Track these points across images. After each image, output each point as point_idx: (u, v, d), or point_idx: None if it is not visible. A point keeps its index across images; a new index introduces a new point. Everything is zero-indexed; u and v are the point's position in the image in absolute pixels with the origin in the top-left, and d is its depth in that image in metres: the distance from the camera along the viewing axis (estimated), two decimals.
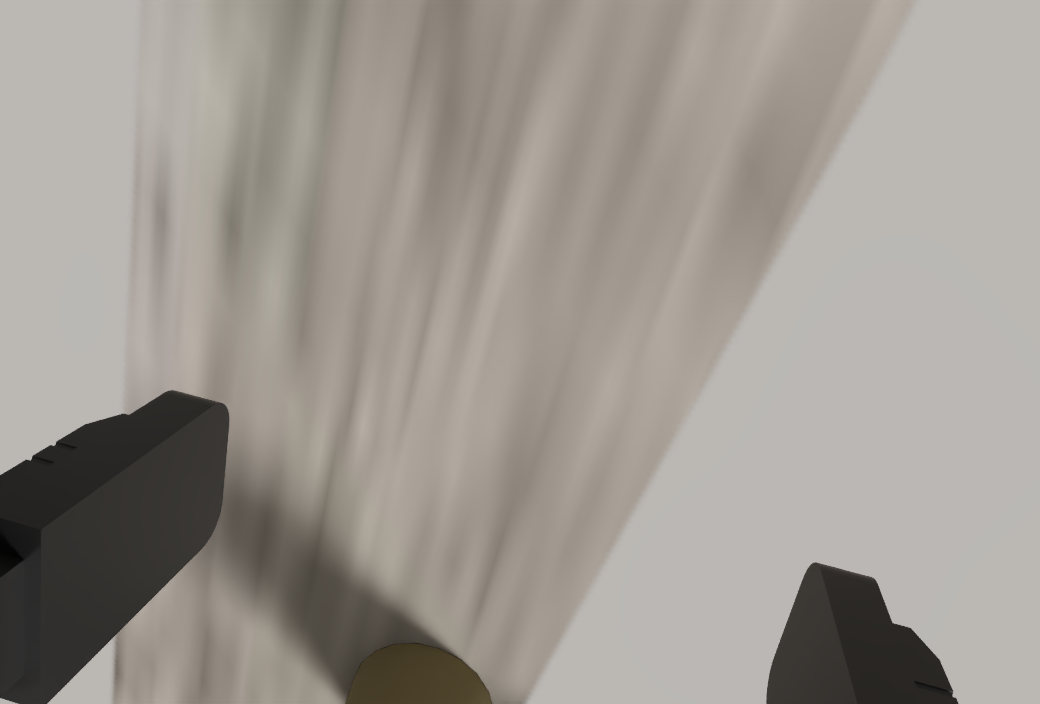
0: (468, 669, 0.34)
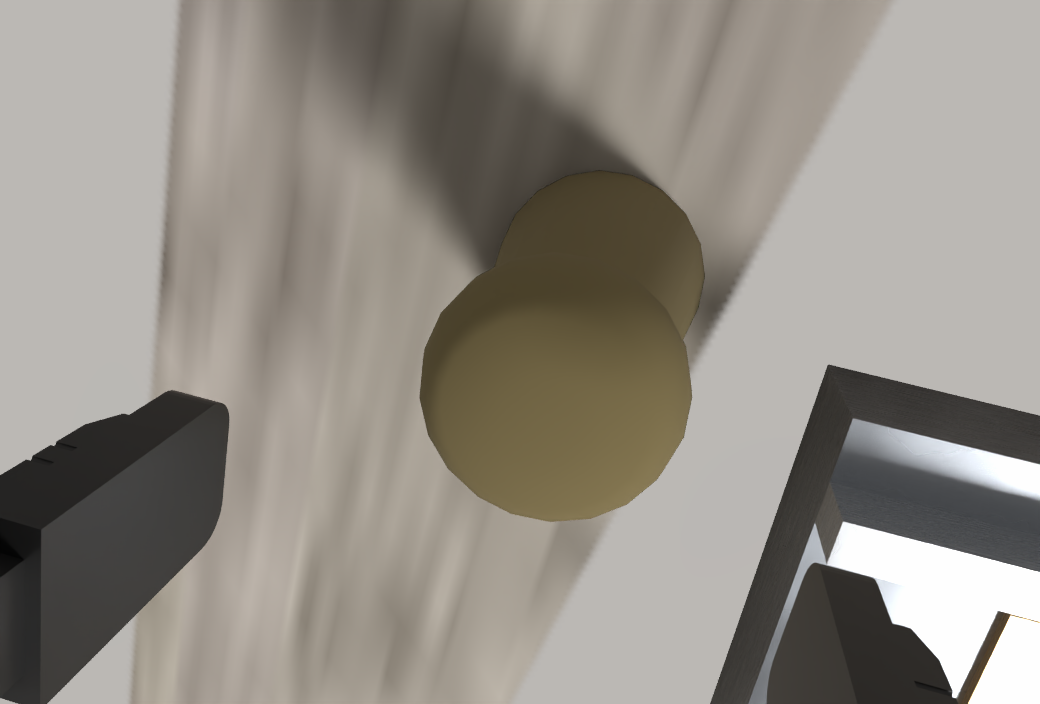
0: (673, 205, 0.24)
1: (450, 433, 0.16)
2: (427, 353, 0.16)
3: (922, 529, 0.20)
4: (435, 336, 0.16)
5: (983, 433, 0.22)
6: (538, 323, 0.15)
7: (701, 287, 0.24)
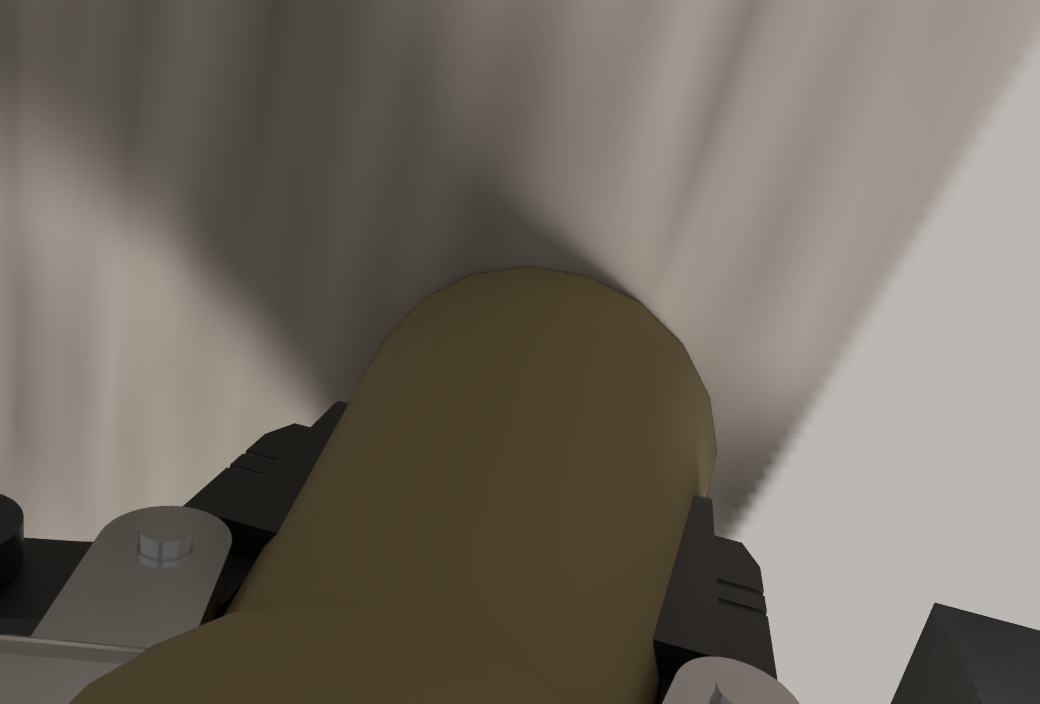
0: (660, 330, 0.14)
1: None
2: None
3: None
4: None
5: None
6: None
7: (711, 475, 0.14)
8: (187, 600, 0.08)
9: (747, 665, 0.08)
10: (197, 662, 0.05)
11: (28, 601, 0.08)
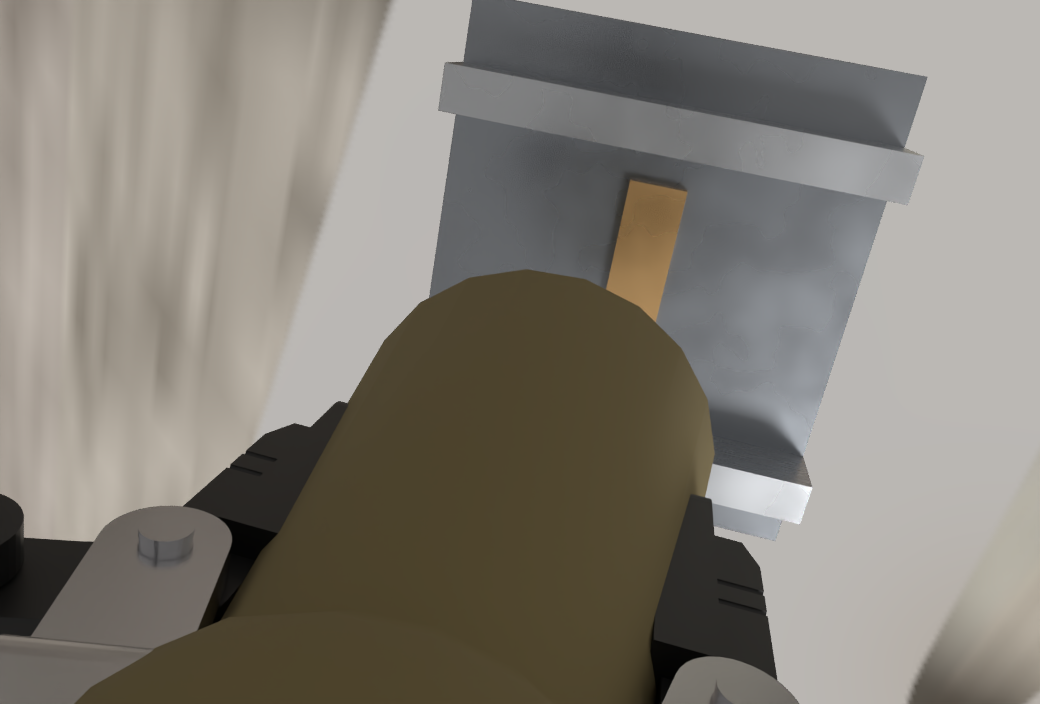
0: (658, 332, 0.14)
1: None
2: None
3: (523, 76, 0.22)
4: None
5: None
6: None
7: None
8: (187, 601, 0.08)
9: (747, 665, 0.08)
10: (193, 667, 0.05)
11: (28, 601, 0.08)
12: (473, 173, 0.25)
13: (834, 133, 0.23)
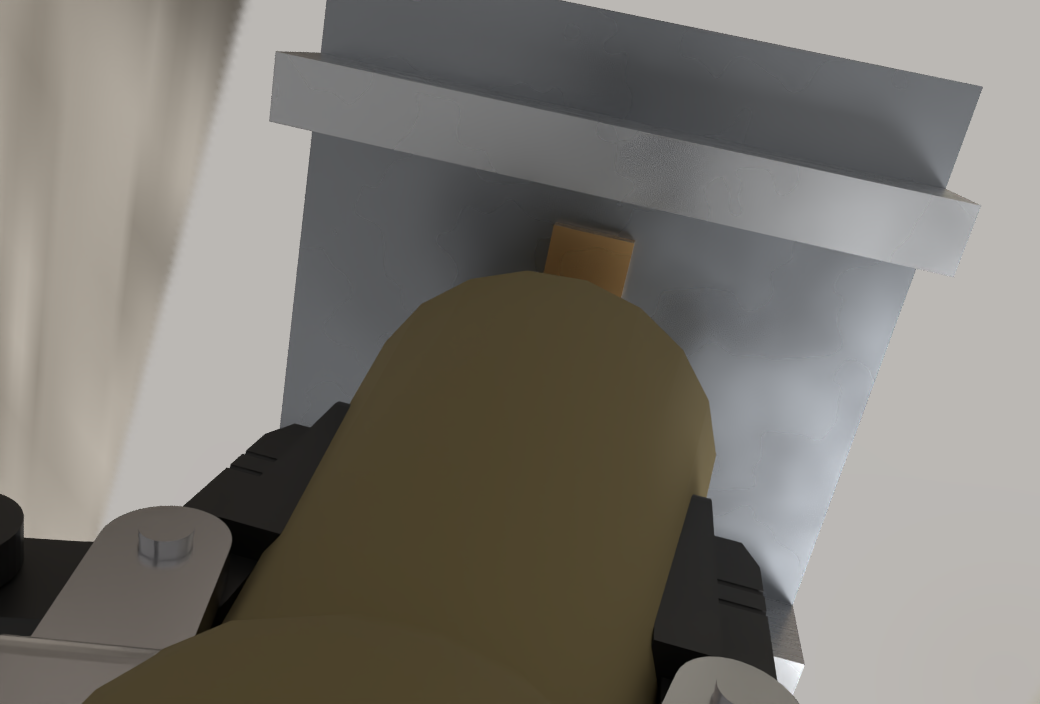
0: (659, 334, 0.14)
1: None
2: None
3: (394, 74, 0.15)
4: None
5: None
6: None
7: (710, 479, 0.14)
8: (187, 600, 0.08)
9: (747, 665, 0.08)
10: (195, 671, 0.05)
11: (28, 601, 0.08)
12: (339, 208, 0.18)
13: (844, 165, 0.16)
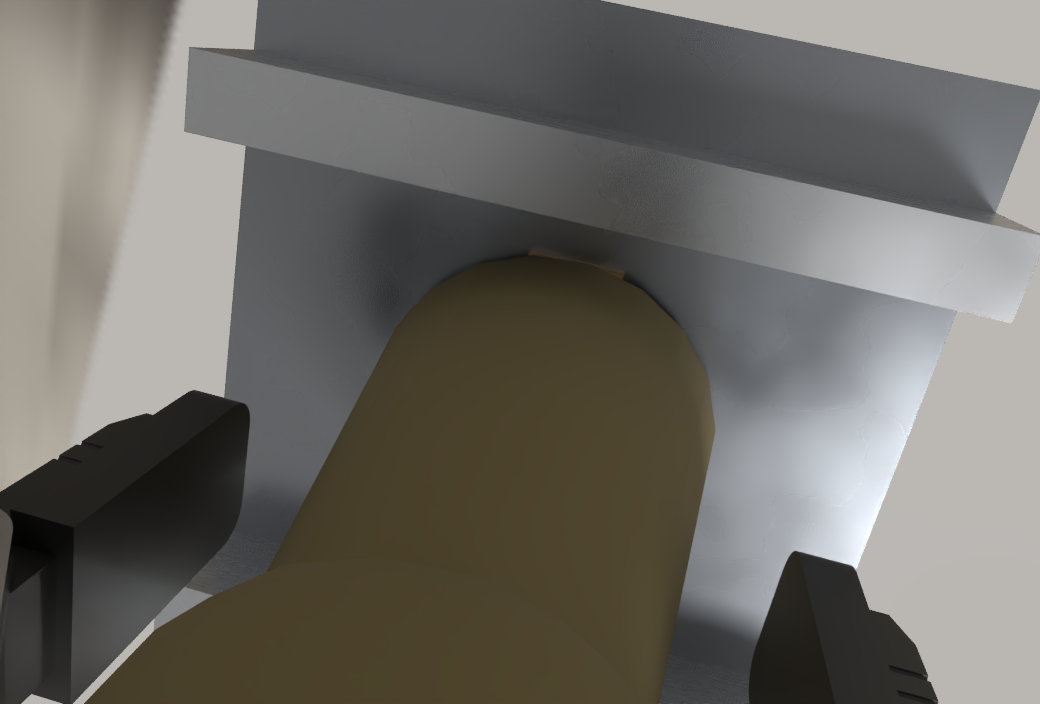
0: (660, 315, 0.14)
1: None
2: None
3: (335, 75, 0.13)
4: None
5: None
6: None
7: None
8: None
9: None
10: (261, 603, 0.06)
11: None
12: (279, 232, 0.15)
13: (874, 184, 0.13)
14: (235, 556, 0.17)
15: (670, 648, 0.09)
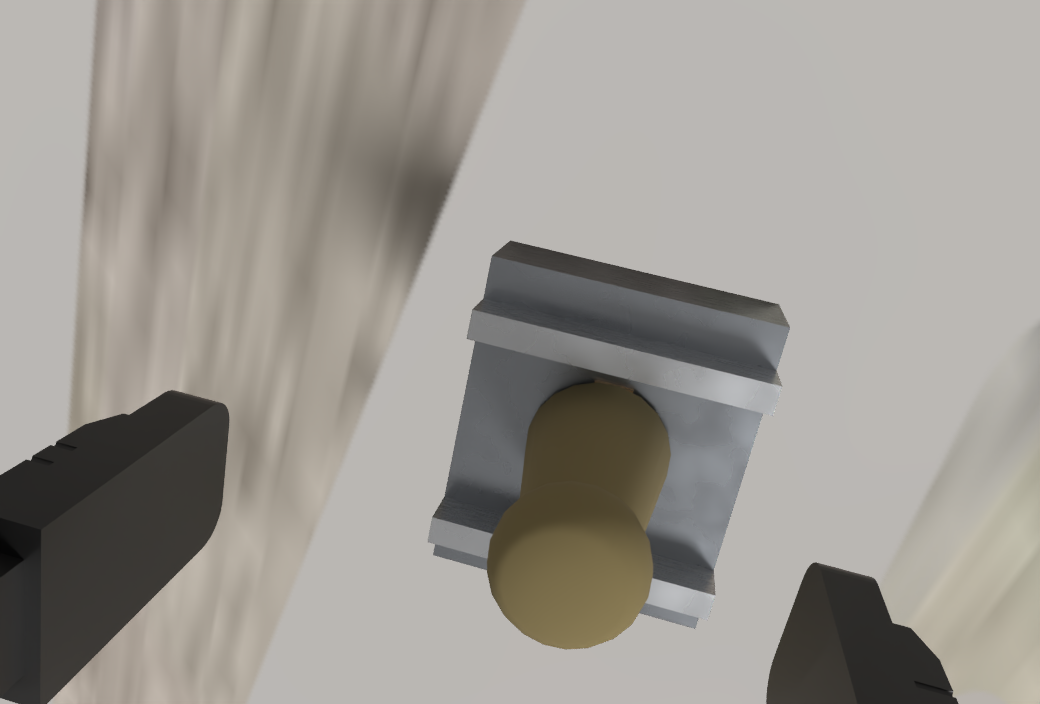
0: (648, 407, 0.35)
1: (507, 597, 0.26)
2: (493, 546, 0.26)
3: (524, 317, 0.34)
4: (498, 537, 0.26)
5: (580, 270, 0.35)
6: (561, 537, 0.25)
7: (668, 464, 0.35)
8: None
9: None
10: (551, 488, 0.27)
11: None
12: (487, 369, 0.36)
13: (730, 358, 0.34)
14: (459, 509, 0.37)
15: (646, 519, 0.30)
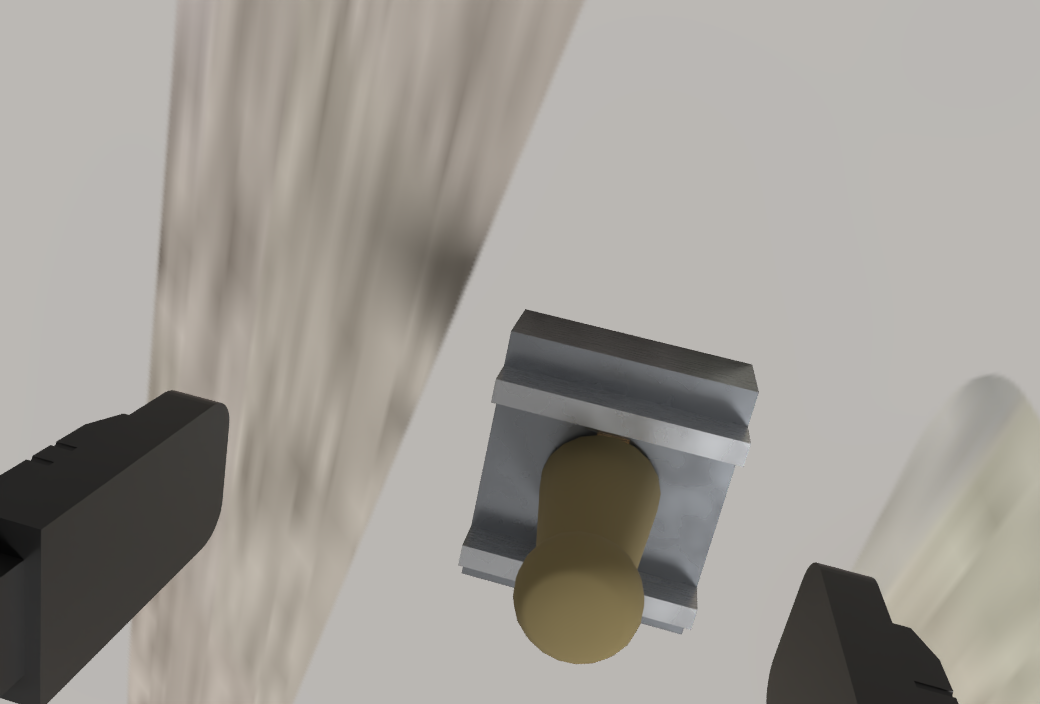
0: (641, 455, 0.42)
1: (530, 625, 0.33)
2: (518, 585, 0.34)
3: (538, 384, 0.41)
4: (522, 578, 0.34)
5: (585, 340, 0.42)
6: (572, 580, 0.32)
7: (658, 502, 0.42)
8: None
9: None
10: (564, 538, 0.34)
11: None
12: (507, 423, 0.43)
13: (709, 416, 0.41)
14: (484, 537, 0.45)
15: (639, 556, 0.37)
